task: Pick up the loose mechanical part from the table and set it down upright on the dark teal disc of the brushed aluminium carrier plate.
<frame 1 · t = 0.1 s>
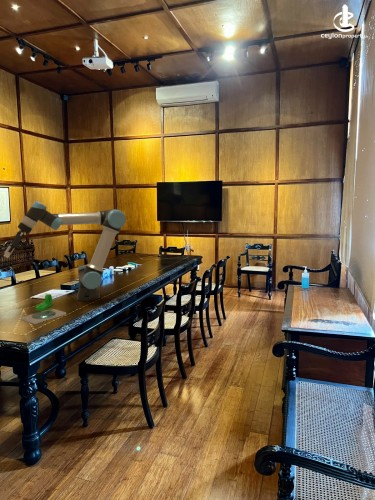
hand: (6, 255, 204), 36 cm above the table, tool tilted 35°, fingers open, 13 cm apart
carrier plate: (43, 316, 204), on the table
mechanical part: (43, 308, 222), on the table
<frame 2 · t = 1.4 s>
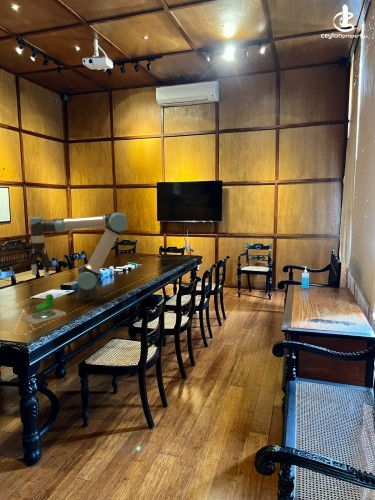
hand: (40, 275, 219), 21 cm above the table, tool pointing down, fingers open, 13 cm apart
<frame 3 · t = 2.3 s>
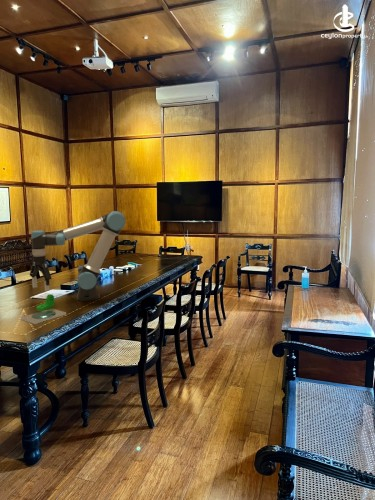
hand: (41, 288, 220), 12 cm above the table, tool pointing down, fingers open, 13 cm apart
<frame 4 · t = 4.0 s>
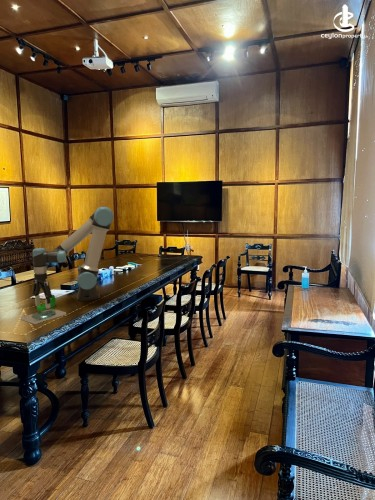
hand: (43, 307, 221), 0 cm above the table, tool pointing down, fingers open, 11 cm apart
mechanical part: (45, 308, 221), on the table, touching gripper
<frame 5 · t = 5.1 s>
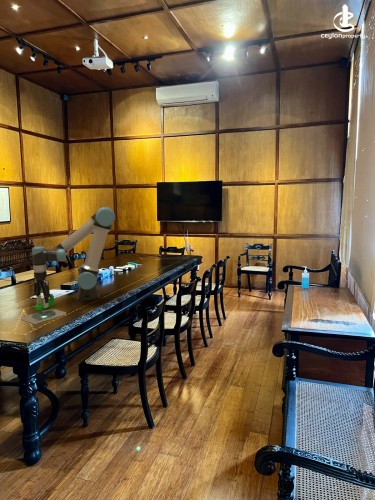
hand: (42, 306, 221), 1 cm above the table, tool pointing down, fingers closed on mechanical part, 7 cm apart
mechanical part: (43, 307, 222), on the table, touching gripper
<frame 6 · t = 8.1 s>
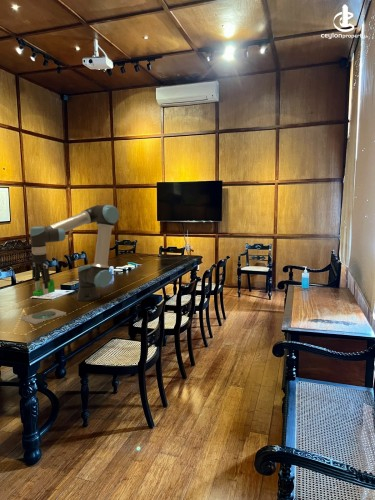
hand: (42, 293, 202), 14 cm above the table, tool pointing down, fingers closed on mechanical part, 7 cm apart
mechanical part: (43, 293, 202), point 14 cm above the table, touching gripper
when the fingers open (2 cm above the table, at t = 10.9 s): mechanical part stays where it is, resting on carrier plate.
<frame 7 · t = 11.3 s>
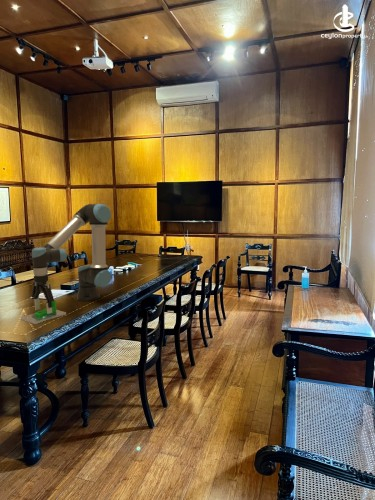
hand: (43, 311, 203), 3 cm above the table, tool pointing down, fingers open, 11 cm apart
mechanical part: (44, 314, 204), point 1 cm above the table, touching carrier plate
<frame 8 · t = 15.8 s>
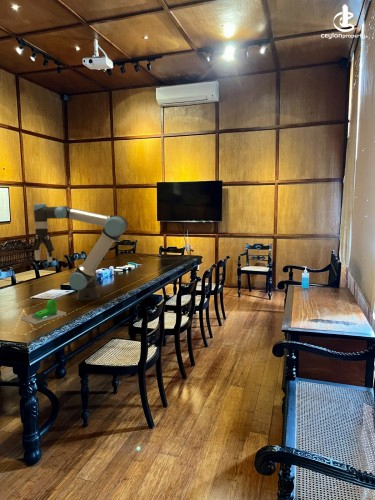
hand: (43, 261, 225), 29 cm above the table, tool pointing down, fingers open, 13 cm apart
nothing on the table moved.
at the end: mechanical part inside the target area on the carrier plate (0.9 cm from its centre), point 1.2 cm above the carrier plate's base; mechanical part tilted 0°; the gripper is holding nothing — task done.
